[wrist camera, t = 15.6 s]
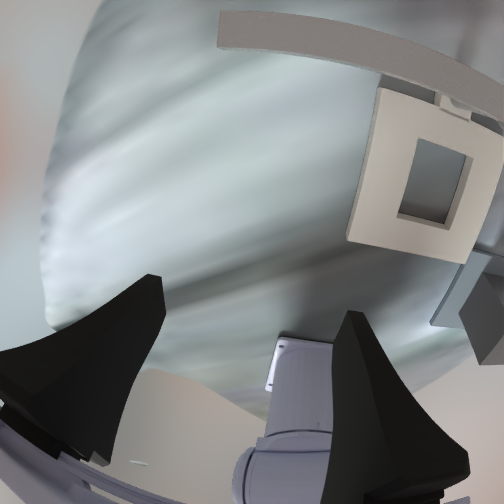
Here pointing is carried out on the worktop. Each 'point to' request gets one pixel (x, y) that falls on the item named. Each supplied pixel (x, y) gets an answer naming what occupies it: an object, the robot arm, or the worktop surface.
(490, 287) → the plug
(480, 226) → the socket plate
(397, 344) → the worktop surface
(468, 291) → the pad
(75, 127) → the worktop surface
